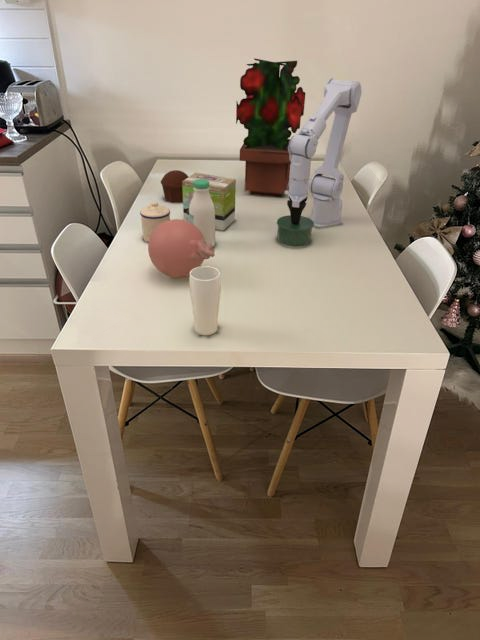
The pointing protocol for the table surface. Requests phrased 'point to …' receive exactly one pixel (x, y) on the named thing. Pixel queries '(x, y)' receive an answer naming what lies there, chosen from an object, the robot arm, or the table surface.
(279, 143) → the potted plant
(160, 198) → the table surface
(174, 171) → the muffin
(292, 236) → the pot
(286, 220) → the lid
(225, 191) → the tea box
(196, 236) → the balloon
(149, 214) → the teacup with lid
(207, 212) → the milk bottle
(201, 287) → the drinking glass
